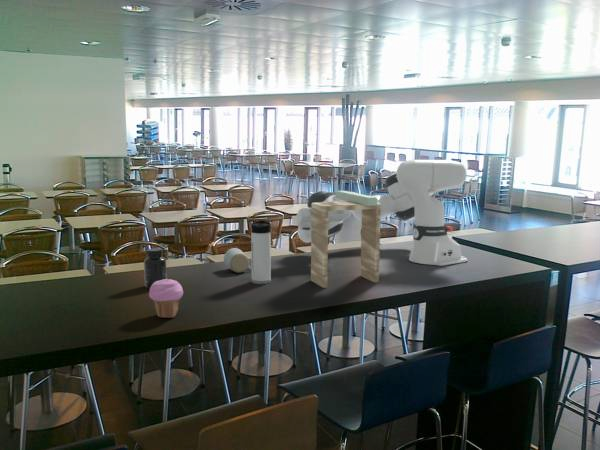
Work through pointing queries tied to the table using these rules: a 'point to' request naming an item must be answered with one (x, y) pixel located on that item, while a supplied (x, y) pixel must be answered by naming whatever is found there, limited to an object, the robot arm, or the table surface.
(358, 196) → the bar
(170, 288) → the cupcake
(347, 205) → the frame
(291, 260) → the table surface
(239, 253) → the ceramic mug
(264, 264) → the travel mug
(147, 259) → the supplement bottle
